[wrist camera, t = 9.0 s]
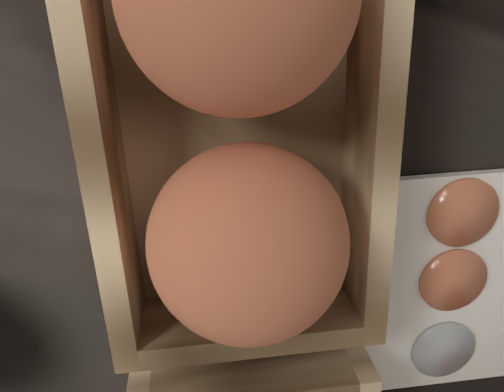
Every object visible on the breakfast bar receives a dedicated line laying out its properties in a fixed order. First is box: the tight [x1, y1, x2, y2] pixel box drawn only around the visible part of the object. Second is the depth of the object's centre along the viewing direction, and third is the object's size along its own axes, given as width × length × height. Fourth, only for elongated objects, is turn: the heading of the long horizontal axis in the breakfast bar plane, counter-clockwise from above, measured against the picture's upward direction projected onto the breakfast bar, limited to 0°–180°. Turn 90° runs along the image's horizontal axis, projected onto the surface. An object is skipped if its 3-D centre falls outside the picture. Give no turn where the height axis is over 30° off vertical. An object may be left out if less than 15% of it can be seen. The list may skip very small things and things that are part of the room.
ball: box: [145, 142, 350, 348], centre depth 14 cm, size 6×6×6 cm
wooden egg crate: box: [45, 0, 415, 374], centre depth 14 cm, size 16×9×3 cm, turn 2°
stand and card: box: [365, 168, 504, 390], centre depth 17 cm, size 10×28×4 cm, turn 92°
